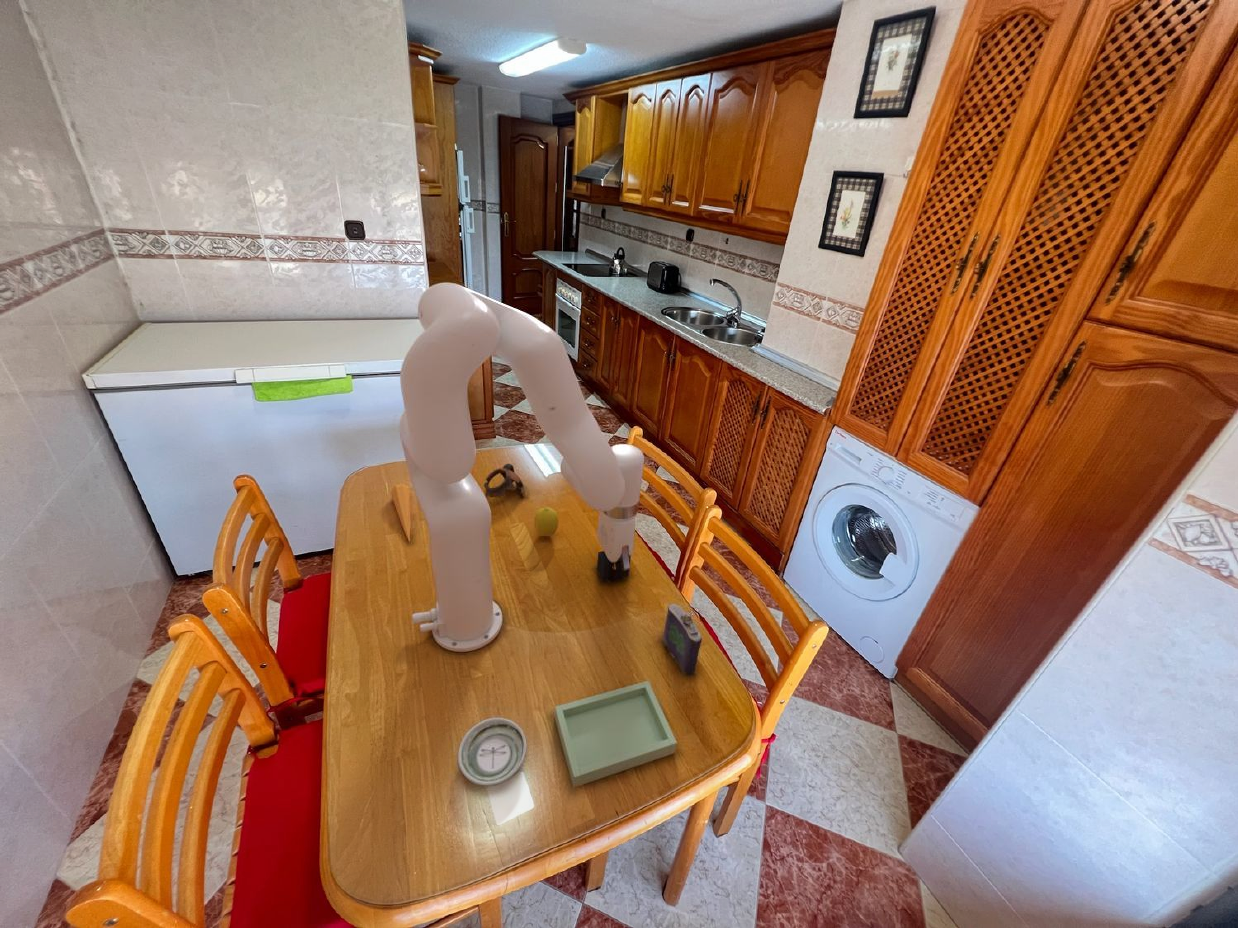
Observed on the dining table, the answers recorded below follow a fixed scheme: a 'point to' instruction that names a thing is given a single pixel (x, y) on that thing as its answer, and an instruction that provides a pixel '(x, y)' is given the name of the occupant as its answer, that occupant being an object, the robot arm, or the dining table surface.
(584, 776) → the green rectangular tray
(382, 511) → the dining table surface
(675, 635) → the flask
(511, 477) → the brown curved loop piece
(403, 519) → the carrot
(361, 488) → the dining table surface
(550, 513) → the lemon
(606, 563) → the black rectangular block
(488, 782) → the saucer
